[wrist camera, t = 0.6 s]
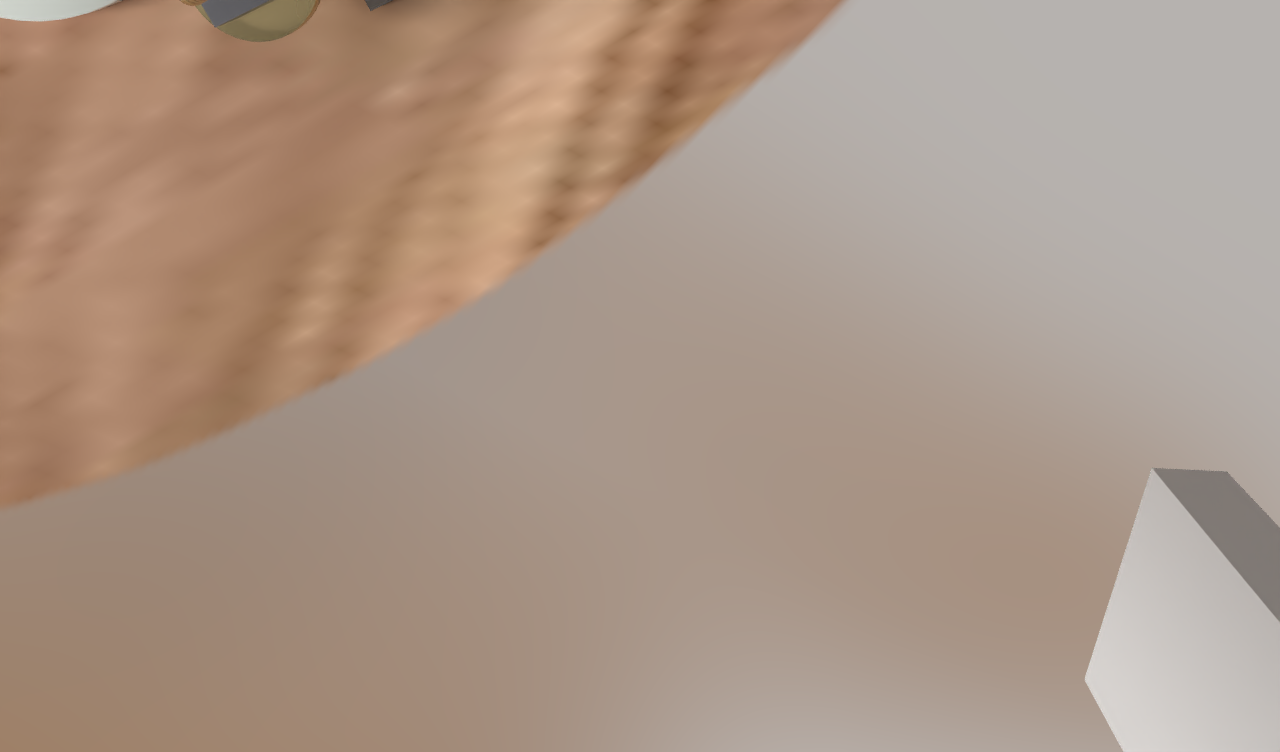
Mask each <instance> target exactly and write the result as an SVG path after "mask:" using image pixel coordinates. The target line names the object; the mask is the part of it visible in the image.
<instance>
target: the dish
mask: <svg viewBox="0 0 1280 752" xmlns="http://www.w3.org/2000/svg"><path fill="white" fill-rule="evenodd" d="M121 1H123V0H0V17H1V18H7V19H13V20H21V21H50V20H60V19H66V18H70V17H74V16H78V15H82V14H86V13H90V12H93V11H97V10H100V9H104V8H106V7H109V6H111V5H113V4H116V3H118V2H121Z"/></svg>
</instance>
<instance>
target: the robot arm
mask: <svg viewBox="0 0 1280 752" xmlns="http://www.w3.org/2000/svg"><path fill="white" fill-rule="evenodd" d="M1085 681H1086V683H1087V685H1088V687H1089V689H1090V690H1091V692H1092V694H1093V696H1094V698H1095V700H1096V702H1097V703H1098V705H1099V707H1100V709H1101V711H1102V713H1103V714H1104V716H1105V718H1106V720H1107V722H1108V724H1109V725H1110V727H1111V729H1112V731H1113V733H1114V735H1115V736H1116V738H1117V740H1118V742H1119V744H1120V746H1121V748H1122V749H1123V752H1280V528H1279V527H1278V525H1277V524H1275V522H1274V521H1273V520H1272V519H1271V518H1270V517H1269V516H1268V515H1267V514H1266V513H1265V512H1264V511H1263V510H1262V508H1261V507H1259V505H1258V504H1257V503H1256V502H1255V501H1254V500H1253V499H1252V498H1251V497H1250V496H1249V495H1248V494H1247V493H1246V492H1245V490H1244V489H1243V488H1242V487H1241V486H1240V485H1239V484H1238V483H1237V482H1236V481H1235V480H1234V479H1233V478H1232V477H1231V476H1230V474H1229V473H1228V472H1223V471H1203V470H1182V469H1161V468H1152V469H1151V472H1150V475H1149V479H1148V482H1147V485H1146V488H1145V491H1144V494H1143V497H1142V501H1141V504H1140V507H1139V510H1138V513H1137V516H1136V519H1135V523H1134V526H1133V529H1132V532H1131V535H1130V538H1129V541H1128V545H1127V548H1126V551H1125V554H1124V557H1123V560H1122V564H1121V567H1120V570H1119V573H1118V576H1117V579H1116V583H1115V586H1114V588H1113V592H1112V595H1111V598H1110V601H1109V604H1108V607H1107V611H1106V614H1105V617H1104V620H1103V623H1102V626H1101V630H1100V632H1099V636H1098V639H1097V642H1096V645H1095V648H1094V651H1093V654H1092V658H1091V661H1090V664H1089V667H1088V670H1087V673H1086V677H1085Z"/></svg>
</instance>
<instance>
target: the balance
mask: <svg viewBox="0 0 1280 752" xmlns="http://www.w3.org/2000/svg"><path fill="white" fill-rule="evenodd" d="M180 1H181V2H182V3H184V4H186V5H190V6H196V8H197V9H198V10H199V12H200V13H201V14H202V15H203V16H204V17H205V18H206V19H207V20H208V21H209V22H210V23H211V24H213V25H214V27H217V28H218V29H220V30H221V31H223V32H225V33H226V34H229V35H231V36H233V37H235V38H239V39H242V40H247V41H252V42H265V41H272V40H276V39H279V38H282V37H284V36H287V35H289V34H291V33H293V32H294V31H296V30H298V29H299V28H301V27H302V26H303V25H304V24H305V23H306V22H307V21H308V20H309V19H310V18H311V17H312V15H313V14H314V12H315V11H316V9H317V7H318V5H319V3H320V0H180ZM365 1H366V3H367V5H368V7H369V9H370V11H372V10H374V9H376V8H378V7H380V6H382V5H384V4H386V3H388V2H390V1H392V0H365Z"/></svg>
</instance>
